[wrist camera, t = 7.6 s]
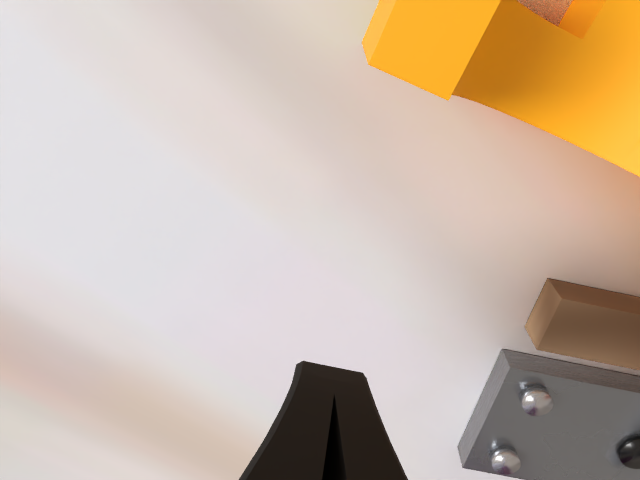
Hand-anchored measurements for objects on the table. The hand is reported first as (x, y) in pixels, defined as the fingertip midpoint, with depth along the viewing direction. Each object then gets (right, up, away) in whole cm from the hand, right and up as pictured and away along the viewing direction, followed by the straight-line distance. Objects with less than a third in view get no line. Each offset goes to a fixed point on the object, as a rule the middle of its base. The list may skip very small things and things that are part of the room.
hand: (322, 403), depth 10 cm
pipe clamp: (+8, +10, +6) cm, 14 cm away
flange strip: (+15, -6, +13) cm, 20 cm away
